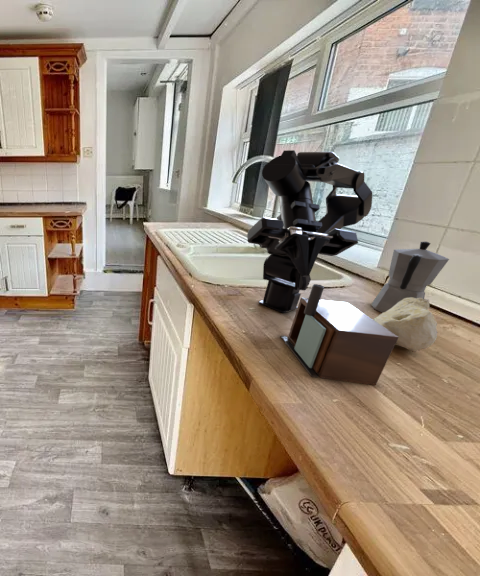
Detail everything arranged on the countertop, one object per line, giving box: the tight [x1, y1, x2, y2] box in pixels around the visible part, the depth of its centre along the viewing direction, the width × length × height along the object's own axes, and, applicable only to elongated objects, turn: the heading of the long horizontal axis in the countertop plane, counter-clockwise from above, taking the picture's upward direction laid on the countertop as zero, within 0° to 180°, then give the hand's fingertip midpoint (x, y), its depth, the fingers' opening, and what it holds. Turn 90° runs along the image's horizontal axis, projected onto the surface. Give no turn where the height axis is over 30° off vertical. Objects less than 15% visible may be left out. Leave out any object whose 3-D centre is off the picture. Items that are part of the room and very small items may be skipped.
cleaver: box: [294, 283, 326, 369], centre depth 52 cm, size 6×2×13 cm, turn 171°
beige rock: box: [372, 297, 438, 353], centre depth 62 cm, size 15×7×15 cm
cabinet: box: [280, 297, 399, 386], centre depth 54 cm, size 13×10×9 cm
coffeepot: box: [370, 240, 450, 314], centre depth 74 cm, size 15×9×18 cm, turn 129°
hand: (305, 276), depth 57 cm, fingers closed
